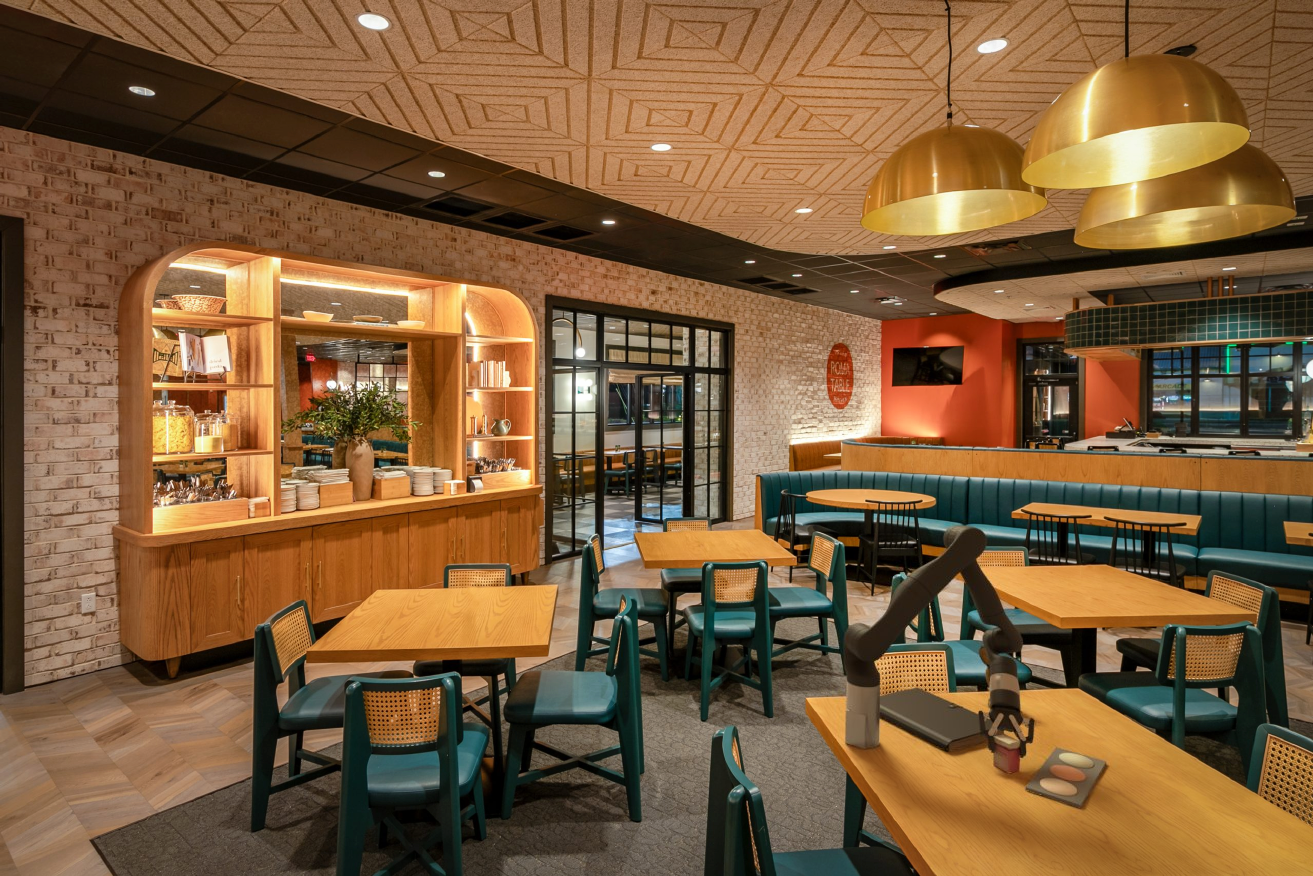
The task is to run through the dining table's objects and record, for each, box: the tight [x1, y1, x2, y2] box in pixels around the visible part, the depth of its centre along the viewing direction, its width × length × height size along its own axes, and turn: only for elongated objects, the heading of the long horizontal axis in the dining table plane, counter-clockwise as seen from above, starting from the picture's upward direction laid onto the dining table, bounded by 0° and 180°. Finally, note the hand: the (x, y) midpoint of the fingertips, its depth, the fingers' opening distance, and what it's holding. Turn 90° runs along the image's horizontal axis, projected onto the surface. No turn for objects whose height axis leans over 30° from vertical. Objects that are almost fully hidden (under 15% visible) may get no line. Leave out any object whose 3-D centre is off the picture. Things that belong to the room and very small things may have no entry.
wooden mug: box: [978, 644, 990, 709], centre depth 227 cm, size 9×14×18 cm, turn 24°
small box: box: [992, 733, 1021, 774], centre depth 185 cm, size 5×4×8 cm
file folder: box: [880, 687, 1005, 753], centre depth 214 cm, size 33×4×24 cm
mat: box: [1025, 746, 1107, 809], centre depth 181 cm, size 30×12×1 cm, turn 137°
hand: (1007, 754), depth 183 cm, fingers closed on small box, 6 cm apart
